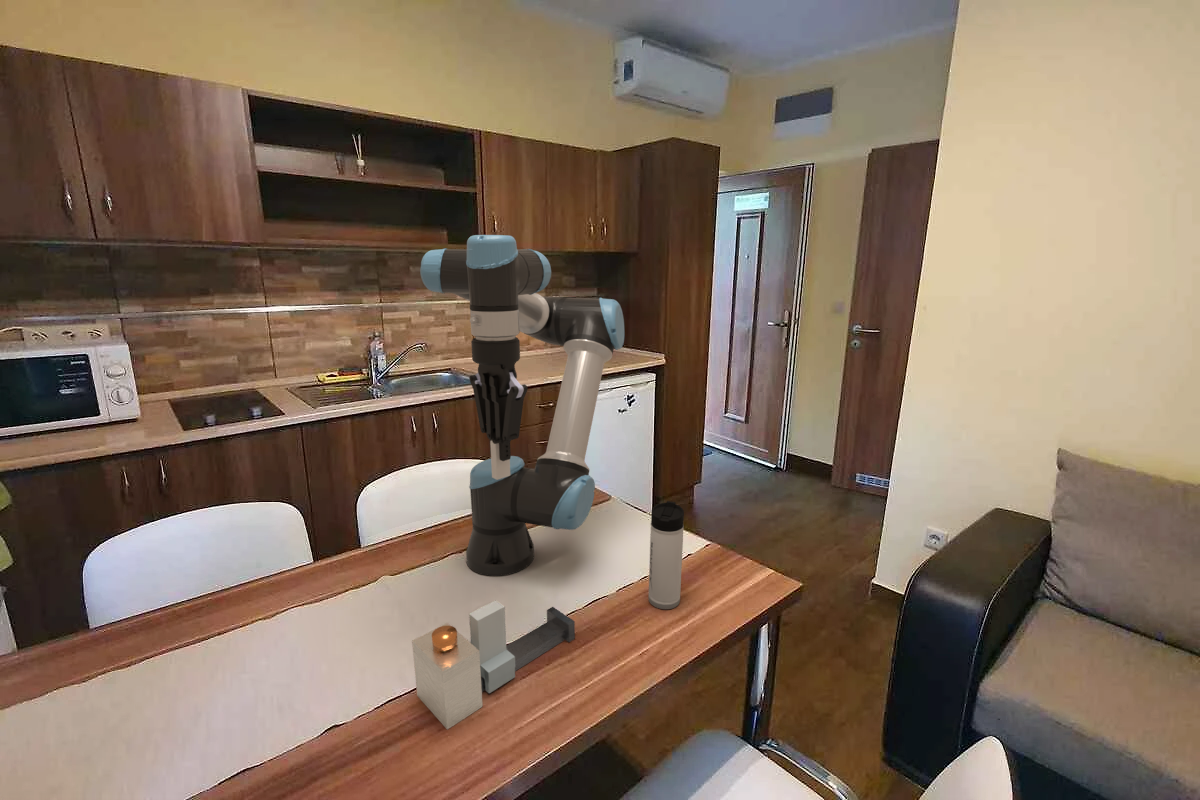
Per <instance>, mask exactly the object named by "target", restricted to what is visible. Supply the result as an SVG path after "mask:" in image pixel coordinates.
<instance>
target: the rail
mask: <svg viewBox="0 0 1200 800" xmlns="http://www.w3.org/2000/svg"><path fill="white" fill-rule="evenodd" d="M575 624H576V623H575V620H573V619H571V618H570V617H569V616H567V615H566V614H564V613H563V612H562V611H560V610H559V609H557V608H556V607H554V606H551V607H550V608H548V609H546V622H544V623H542V624H541V625H540V626H538V627H536V628H535V629H532V630H531V631H529V632H527V633H526V634H524V635H522V636H521V637H519V638H517V639H515V640H513V641H512V642H511V643H509V644H508V643H507V644H506V649H507V650H508V651H509V652H510V653H511V654H512V655H514V656H515V672H516V671H518V670H519V669H521V668H523V667H525V666H526V665H527V664H529V663H531V662H532V661H534V660H535V659H537V658H538V657H541V656H542V655H544V654H545V653H547V652H549V651H550V650H552V649H553V648H555V647H556V646H557V645H559V644H561V643H563V642H564V641H566V642H568V643H570V642H572V641H574V640H575V638H576V636H575V634H576V633H575V632H576V631H575V629H576V627H575V626H576V625H575ZM441 626H452V625H451V624H449V622H446V623H444V624H441V625H440V626H439V627H441ZM439 627H437V628H439ZM437 628H434V629H433V630H430V631H429V632H426V633H424V634H422V635H420V636H418V637H416V638H414V639H413V640H412V641H411V643H412V644H411V645H412V655H413V663H414V675H415V677H414V678H415V686H416V687H415V688H416V696H417V698H418V699H419V700H420V701H421V702H422V703H423V704H424V705H425V707H427V708H428V710H430V712H431V713H432V714H433V716H434V717H435V718H436V719H437V720H438V721H439V722H440V723H441V724H442V726H443V727H444V728H445V729H446V730H447V731H448V730H449V729H450V728H452V727H454V726H455V725H457V724H458V723H460V722H462V721H463V720H464V719H466V718H467V717H469V716H471V715H472V714H474V713H475V712H477V711H479V709H482V708H483V692H486V690H485V679H484V678H483V677H482V676H481V671H480V654H479V650H478V649H477V648H476V647H475V646H474V645H472V644H471V641H469V640H468V639H467V638H465V636H464V635H462V634H461V633H460V632H459V631H458V630H457V640H458V641H457V644H456V645H455V646H454V647H453V648H451V649H449V650H448V651H446V652H444V653H441V652H440V651H438V650H436V649H434V648H433V645H432V633H433V631H434V630H435V629H437Z"/></svg>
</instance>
